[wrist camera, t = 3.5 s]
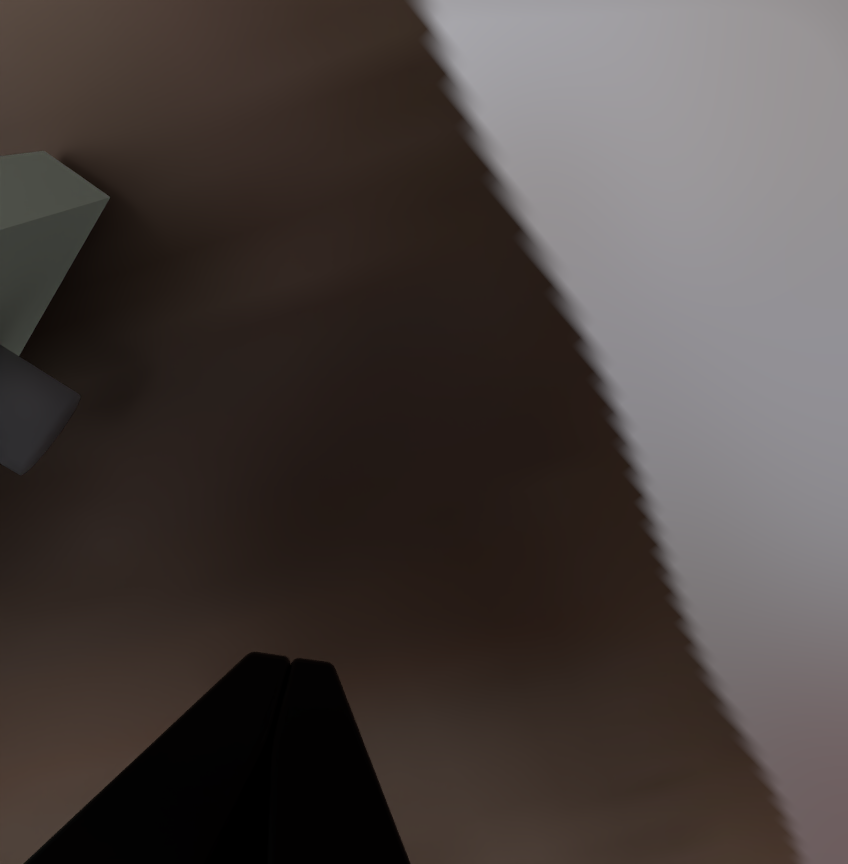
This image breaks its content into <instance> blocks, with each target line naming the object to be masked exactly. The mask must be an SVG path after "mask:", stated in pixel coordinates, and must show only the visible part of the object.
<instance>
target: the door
mask: <svg viewBox="0 0 848 864" xmlns="http://www.w3.org/2000/svg"><path fill="white" fill-rule="evenodd" d="M109 199H110V196H108V195H107V194H105V193H104V192H102V191H101V190H100V189H98V188H97V187H95V186H94V185H92V184H91V183H90V182H88V181H87V180H85V179H84V178H82V177H81V176H80V175H78V174H77V173H75V172H74V171H72V170H71V169H70V168H68V167H67V166H65V165H64V164H62V163H61V162H60V161H58V160H57V159H55V158H54V157H52V156H51V155H50V154H48V153H47V152H45V151H38V152H30V153H22V154H14V155H6V156H0V464H2V465H3V466H5V467H7V468H8V469H10V470H12V471H14V472H15V473H17V474H19V475H23V474H25V473H26V472H27V471H28V470H29V469H30V468H31V467H32V466H33V465H34V464H35V463H36V462H37V461H38V460H39V459H40V458H41V457H42V455H43V454H44V453H45V452H46V451H47V449H48V448H49V447H50V446H51V444H52V443H53V442H54V440H55V439H56V438H57V436H58V435H59V434H60V432H61V431H62V429H63V428H64V427H65V425H66V424H67V422H68V421H69V419H70V417H71V416H72V414H73V412H74V411H75V409H76V407H77V405H78V403H79V401H80V397H81V395H80V394H78V393H77V392H75V391H74V390H72V389H70V388H69V387H67V386H66V385H64V384H62V383H61V382H59V381H58V380H56V379H54V378H53V377H51V376H50V375H48V374H46V373H45V372H43V371H42V370H40V369H38V368H37V367H35V366H34V365H32V364H30V363H29V362H27V361H26V360H24V359H22V358H21V357H19V355H20V354H21V352H22V350H23V348H24V347H25V345H26V343H27V341H28V340H29V338H30V336H31V334H32V333H33V331H34V329H35V328H36V326H37V324H38V322H39V321H40V319H41V317H42V315H43V314H44V312H45V310H46V308H47V307H48V305H49V303H50V301H51V300H52V298H53V296H54V294H55V293H56V291H57V289H58V288H59V286H60V284H61V282H62V281H63V279H64V277H65V275H66V274H67V272H68V270H69V268H70V267H71V265H72V263H73V261H74V260H75V258H76V256H77V254H78V253H79V251H80V249H81V248H82V246H83V244H84V242H85V241H86V239H87V237H88V235H89V234H90V232H91V230H92V228H93V227H94V225H95V223H96V221H97V220H98V218H99V216H100V214H101V213H102V211H103V209H104V208H105V206H106V204H107V202H108V201H109Z"/></svg>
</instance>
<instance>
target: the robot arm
mask: <svg viewBox="0 0 848 864" xmlns="http://www.w3.org/2000/svg"><path fill="white" fill-rule="evenodd" d="M24 864H410V861H409V859H408V856H407V853H406V851H405V848H404V846H403V843H402V840H401V838H400V835H399V833H398V830H397V827H396V825H395V822H394V820H393V817H392V814H391V812H390V809H389V807H388V804H387V802H386V799H385V796H384V794H383V791H382V789H381V786H380V783H379V781H378V778H377V776H376V773H375V770H374V768H373V765H372V763H371V760H370V757H369V755H368V752H367V750H366V747H365V745H364V742H363V739H362V737H361V734H360V732H359V729H358V726H357V724H356V721H355V719H354V716H353V713H352V711H351V708H350V706H349V703H348V700H347V698H346V695H345V693H344V690H343V687H342V685H341V682H340V680H339V677H338V675H337V672H336V670H335V668H334V666H333V665H332V664H331V663H329V662H324V661H317V660H310V659H303V658H297V659H294V660H293V662H292V663H291V665H290V660H289V658H288V657H286V656H282V655H275V654H268V653H261V652H251V653H249V654H247V655H246V656H245V657H244V658H243V659H242V660H241V661H240V662H239V663H238V664H237V665H235V666H234V667H233V668H232V669H231V670H230V671H229V672H228V673H227V674H226V675H225V676H224V677H223V678H222V679H220V680H219V681H218V682H217V683H216V684H215V685H214V686H213V687H212V688H211V689H210V690H209V691H208V692H207V693H206V694H204V695H203V696H202V697H201V698H200V699H199V700H198V701H197V702H196V703H195V704H194V705H193V706H192V707H191V708H189V709H188V710H187V711H186V712H185V713H184V714H183V715H182V716H181V717H180V718H179V719H178V720H177V721H176V722H174V723H173V724H172V725H171V726H170V727H169V728H168V729H167V730H166V731H165V732H164V733H163V734H162V735H161V736H160V737H158V738H157V739H156V740H155V741H154V742H153V743H152V744H151V745H150V746H149V747H148V748H147V749H146V750H145V751H143V752H142V753H141V754H140V755H139V756H138V757H137V758H136V759H135V760H134V761H133V762H132V763H131V764H130V765H129V766H127V767H126V768H125V769H124V770H123V771H122V772H121V773H120V774H119V775H118V776H117V777H116V778H115V779H114V780H112V781H111V782H110V783H109V784H108V785H107V786H106V787H105V788H104V789H103V790H102V791H101V792H100V793H99V794H97V795H96V796H95V797H94V798H93V799H92V800H91V801H90V802H89V803H88V804H87V805H86V806H85V807H84V808H83V809H81V810H80V811H79V812H78V813H77V814H76V815H75V816H74V817H73V818H72V819H71V820H70V821H69V822H68V823H66V824H65V825H64V826H63V827H62V828H61V829H60V830H59V831H58V832H57V833H56V834H55V835H54V836H53V837H51V838H50V839H49V840H48V841H47V842H46V843H45V844H44V845H43V846H42V847H41V848H40V849H39V850H38V851H37V852H35V853H34V854H33V855H32V856H31V857H30V858H29V859H28V860H27V861H26V862H25V863H24Z"/></svg>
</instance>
